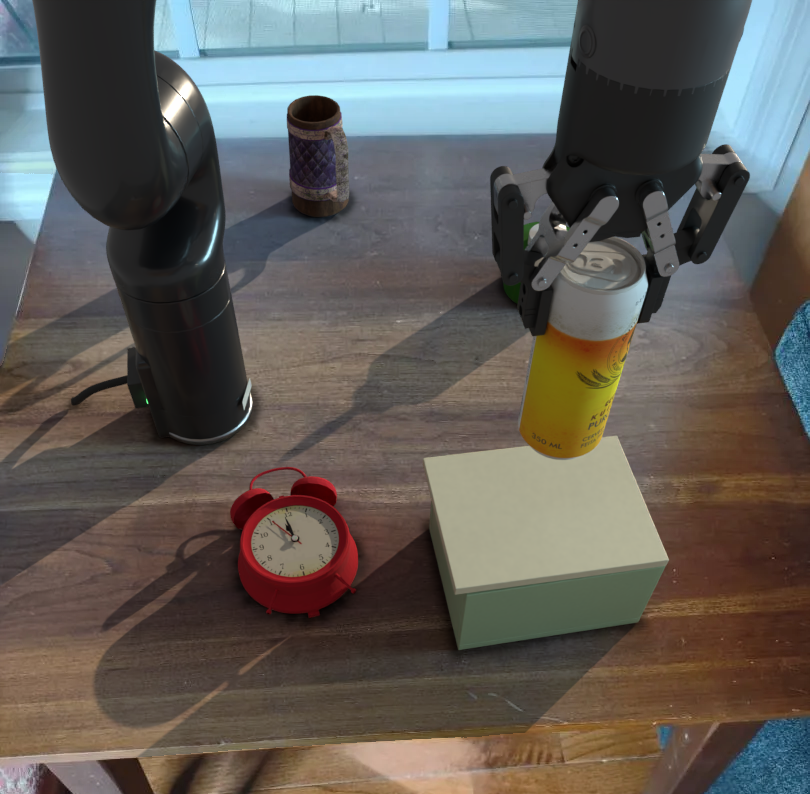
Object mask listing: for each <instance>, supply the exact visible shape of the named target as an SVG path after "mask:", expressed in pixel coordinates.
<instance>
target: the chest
mask: <svg viewBox="0 0 810 794" xmlns="http://www.w3.org/2000/svg"><path fill="white" fill-rule="evenodd" d="M428 529H429V533H430V539H431V541H432V546H433V550H434V554H435V559H436V562H437V567H438V571H439V575H440V579H441V584H442V588H443V592H444V596H445V600H446V605H447V609H448V613H449V617H450V621H451V622H450V623H451V625H452V629H453V634H454V638H455V642H456V646H457V650H458V651H463V650H467V649H475V648H480V647H487V646H494V645H501V644H506V643H514V642H518V641H528V640H532V639H539V638H540V639H541V638H546V637H552V636H558V635H565V634H572V633H578V632H579V633H580V632H584V631H590V630H592V631H593V630H597V629H604V628H611V627H616V626H623V625H629V624H637V623H639V621H640V619H641V617H642V615H643V613H644V611H645V609H646V607H647V605H648V603H649V601H650V599H651V597H652V595H653V593H654V591H655V589H656V587H657V585H658V583H659V580H660V578H661V577H662V574H663V572H664V571H665V568H666V566H661V567H654V568H647V569H639V570H632V571H625V572H617V573H610V574H603V575H596V576H588V577H581V578H574V579H567V580H559V581H552V582H545V583H537V584H530V585H523V586H516V587H508V588H501V589H494V590H486V591H479V592H472V593H465V594H457V595H455V594H454V590H453V586H452V582H451V577H450V573H449V569H448V565H447V561H446V557H445V553H444V549H443V545H442V541H441V537H440V533H439V529H438V525H437V521H436V517H435V512H434V508H433V504H432V500H431V499H430V510H429V525H428Z"/></svg>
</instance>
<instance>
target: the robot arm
mask: <svg viewBox="0 0 810 794" xmlns="http://www.w3.org/2000/svg"><path fill="white" fill-rule="evenodd" d="M31 2H32V6H33V7H32V8H33V13H34V19H35V25H36V33H37V43H38V50H39V51H38V52H39V60H40V69H41V70H40V71H41V80H42V89H43V90H42V91H43V101H44V110H45V121H46V128H47V129H46V130H47V137H48V143H49V149H50V152H51V156H52V160H53V163H54V165H55V168H56V171H57V173H58V176H59V178H60V179H61V182H62V183H63V185H64V186H65V188H66V189H67V191H68V193H69V194H70V196H71V197H72V198H73V200H74V201H75V202H76V203H77V204H78V206H79V207H81V208H82V209H83V210H84V211H85V212H86V213H87V214H88V215H90V216H91V217H92V218H93V219H95V220H96V221H98V222H100V223H102V225H105V226H107V227H108V232H107V236H106V241H105V253H106V259H107V263H108V266H109V270H110V273H111V275H112V276H111V277H112V279H113V282H114V284H115V287H116V290H117V293H118V296H119V300H120V303H121V306H122V309H123V311H124V315H125V318H126V321H127V324H128V325H127V326H128V327H129V331H130V334H131V338H132V341H133V343H134V344H133V345H134V346H135V347H134V346H133V347H128V348H127V349H126V355H127V357H126V358H127V360H126V362H127V363H126V365H127V366H126V368H127V369H126V375H123V376H119V377H115V378H111V379H108V380H104V381H101V382H97V383H95V384H92V385H90V386H88V387H85V388H84V389H83V390H81V391H80V392H79V393H78V394H76V395H75V396H71V399H70V403H71V404H70V405H72V406H78V405H79V404H82V403H83V402H84V401H86V399H88V398H89V397H91V396H92V395H95V394H96V393H100V392H102V391H105V390H108V389H111V388H116V387H120V386H124V385H127V388H128V391H129V394H130V397H131V400H132V404H133V405H134V408H135V409H144V408H149V411H150V415H151V417H152V420H153V423H154V426H155V429H156V432H157V435H158V438H161V439H163V438H171V439H173V440H175V441H178V442H180V443H183V444H187V445H193V446H194V445H195V446H198V445H199V446H202V445H211V444H216V443H220V442H222V441H225V440H227V439H230V438H231V437H233V436H235V435H236V434H237V433H239V432H240V431H241V430H243V428H245V426H246V425H247V424H248V422H249V420H250V419H251V417H252V413H253V407H254V406H253V404H254V403H253V397H252V393H251V390H252V380H251V378H249V379H248V376H247V370H246V366H245V365H246V364H245V360H244V355H243V349H242V344H241V338H240V334H239V333H240V332H239V328H238V322H237V317H236V311H235V307H234V301H233V294H232V290H231V285H230V279H229V274H228V268H227V263H226V258H225V253H224V239H225V238H224V237H225V232H226V231H225V230H226V204H225V196H224V188H223V181H222V173H221V165H220V158H219V150H218V145H217V138H216V134H215V128H214V123H213V120H212V116H211V113H210V111H209V108H208V105H207V103H206V101H205V98H204V96H203V94H202V92H201V91H200V88H199V87H198V85H197V84H196V82H195V81H194V80H193V78H192V77H191V76H190V75H189V74H188V72H187V71H186V70H185V69H184V68H183V67H182V66H181V65H179V64H178V63H177V62H176V61H175V60H173V59H172V58H170V57H169V56H167V55H165V54H163V53H161V52H160V51H157V50H155V19H156V5H157V0H31ZM752 3H753V0H577V4H576V10H575V15H574V22H573V28H572V33H571V39H570V46H569V51H568V57H567V62H566V68H565V76H564V80H563V81H564V82H563V87H562V92H561V93H562V94H561V98H560V104H559V110H558V111H559V112H558V116H557V124H556V134H555V143H554V146H553V148H552V150H551V152H550V153H549V155H548V156H547V158H546V159H545V161H543V165H542V167H541V168H537V169H532V170H529V171H523V172H519V173H515V174H514V172H513V171H512V169H511V167H509V166H506V165H500V166H498V167H495V169H493V170H492V171H491V173H490V175H489V187H490V189H489V190H490V223H491V253H492V256H493V258H494V261H495V262H496V264H497V267H498V270H499V272H500V277H501V280H502V283H503V282H504V284H506V285H509V286H512V285H516V284H518V283H519V282H521V285H520V292H519V298H518V304H517V303H516V305H517V306H516V308H517V311H518V314H519V317H520V319H521V322H522V325H523V327H524V330H527V329H528V330H529V333H530V335H531V336H532V337H533V336H540V335H544V334H545V331H546V326H547V321H548V316H549V311H550V306H551V301H552V296H553V291H554V290H553V287H552V285H551V284H552V282H553V281H554V280H555V278H556V277H557V276H558V274H559V273H560V271H561V270H562V269H563V267H564V266H565V265H566V264H567V263H573V262H574V261H575V260H576V259H577V258H578V256H579V255H580V254H581V252H582V251H583V250H584V248H585V247H586V246H587V244H588V243H589V242H596V241H602V240H605V239H608V238H611V237H617V238H621V239H622V238H623V239H633V238H641V239H642V241H643V245H644V248H645V250H646V253H645V254H644V253H643V254H642V256H643V258H644V260H645V264H646V270H645V271H646V275H647V279H648V288H647V292H646V295H645V298H644V301H643V305H642V308H641V311H640V314H639V318H638V321H637V324H647V323H649V322H650V321H651V318H652V315H653V314H656V313H658V311H659V310H660V309H661V307H662V305H663V302H664V299H665V296H666V293H667V290H668V287H669V283H670V281H671V279H672V276H673V275H675V273H676V272H677V271H678V270H679V268H680V267H681V266H682V265H684V264H687V263H689V262H691V263H692V264H694V265H701V264H704V263H705V262H707V261H709V259H710V258H711V257H712V255H713V252H714V251H715V248H716V246H717V245H718V242H719V241H720V239H721V236H722V234H723V232H724V231H725V229H726V227H727V225H728V222H729V220H730V219H731V217H732V214H733V213H734V211H735V209H736V207H737V205H738V203H739V201H740V199H741V197H742V194H744V191H745V189H746V188H747V185H748V183H749V181H750V178H751V173H750V171H749V170H748V169H747V167H746V165H745V164H744V163H743V161H742V160H741V158H740V157H739V156H738V155H737V153H736V151H735V150H734V148H733V147H732V146H731V145H730V144H727V143H726V144H721V145H718V147H716V148H715V149H714V150H713V151H712V153H702V152H703V151H704V150H705V148H706V146H707V144H708V141H709V139H710V135H711V131H712V128H713V125H714V122H715V119H716V116H717V113H718V110H719V106H720V103H721V100H722V97H723V94H724V92H725V89H726V85H727V82H728V78H729V75H730V72H731V70H732V66H733V63H734V60H735V57H736V55H737V50H738V47H739V44H740V42H741V40H742V38H743V35H744V31H745V27H746V22H747V20H748V16H749V14H750V10H751V6H752ZM694 185H695V187H696V188H695V189H694V192H693V194H692V197H691V199H690V201H689V203H688V205H687V207H686V210H685V211H684V214H683V216H682V219H681V220H680V223H679V225H678V227H677V230H676V232H674V230H673V226H672V222H671V218H670V213H669V211H670V209H672V208H673V207H674V206H675V205H676V203H678V201H679V200H680V199H682V197H684V196H685V195H686V194H687V192H689V190H691V188H693V187H694ZM544 195H547V196H548V197H549V199H550V200H551V202H550V203H549V204H548V206H547V208H546V209H545V210H544V212H543V213H542V215H541V217H540V219H539V221H538V222H539V228H538V231H537V233H536V234H535V236H534V237H533V239H532V240H531V241H530V243H529V244H528V246H527V247H526V249H525V250H524V225H525V221H528V220H529V219H531V218H532V216H533V212H534V210H535V208H536V204H537V201H538V200H539V199H540V198H541V197H542V196H544ZM566 226H567V227H570V229H569V231H567V229H566ZM637 324H636V325H637Z"/></svg>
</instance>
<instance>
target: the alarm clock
mask: <svg viewBox="0 0 810 794" xmlns="http://www.w3.org/2000/svg"><path fill="white" fill-rule="evenodd" d="M286 470H287V471H293V472H294V471H295V472H297V473H299V474H300V475H301V476H302V477H301V478H298V479H296V480H295V481H294V482H293V484H292V485H291V488H290V492H289V494H290V495H284V494H283V495H278V497H277V498H274V497H273V495H272V494H271V493H270V492H269V491H268V490H266V489H265V488H260V487H256V488H253V485H254V482H255V481H256V480H258V479H259V478H260V477H262V476H264V475H266V474H270V473H274V472H278V471H286ZM337 493H338V492H337V489H336V486H334V484H333V483H332V482H331V481H330V480H328V479H326V478H324V477H319V476H310V475H309V476H307V474H305V472H304V471H303V470H301V469H299V468H297V467H294V466H280V467H275V468H271V469H267V470H264V471H262V472H259V473H258V474H256V475H255V476H254V477H253V478H252V479H251V481H250V483H249V489H248V490H247V491H244V492H243V493H241V494H240V495H239V496H237V498H236V499H234V500H233V503H232V504H231V506H230V509H229V511H230V512H229V517H230V520H231V522H232V524H233V525H234V526H235V527H236V529H237V530H242V531H241V535H240V539H239V553H238V558H237V570H238V575H239V579H240V582H241V584H242V586H243V588H244V590H245V591H246V593H247V594H248V595H249V596H250V597H251V598H252V599H253V600H254V601H255V602H257V603H258V604H260V605H261V606H263V607H264V608H267V609H266V611H265V614H266V615H271V614H272V613H273V611H275V612H278V613H282V614H283V613H284V614H307V615H308V616H307V617H308V619H310V618H315V617H319V616H321V614H320V610H321V609H323V608H326V607H328V606H331V604H333V603H335V602H337V600H339V599H340V598H341V597H342V596H343V595H344V594H345V593H346V592H347V591H348V590H350V593H351V594H353V595H354V594H355V593H356V592H357V588H353V587H352V584H353V582H354V580H355V578H356V575H357V573H358V568H359V552H358V548H357V545H356V541H355V540H354V538H353V536H352V535H351V533H350V529H349V526H348V523H347V521H346V520H345V518H344V517H343V515H342V514H341V513H340V512H339V510H337V508H336V507H335V505H336V504H337V501H338V500H337V499H338V494H337Z"/></svg>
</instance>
